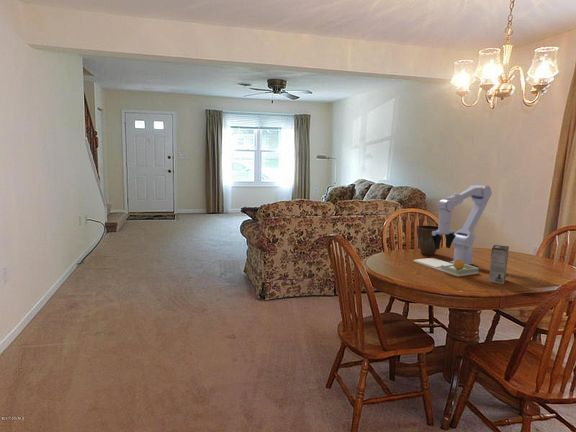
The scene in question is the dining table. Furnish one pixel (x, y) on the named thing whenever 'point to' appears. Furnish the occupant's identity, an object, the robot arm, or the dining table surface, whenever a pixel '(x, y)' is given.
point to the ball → (458, 264)
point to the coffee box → (498, 264)
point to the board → (447, 267)
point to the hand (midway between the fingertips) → (442, 248)
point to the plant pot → (426, 239)
